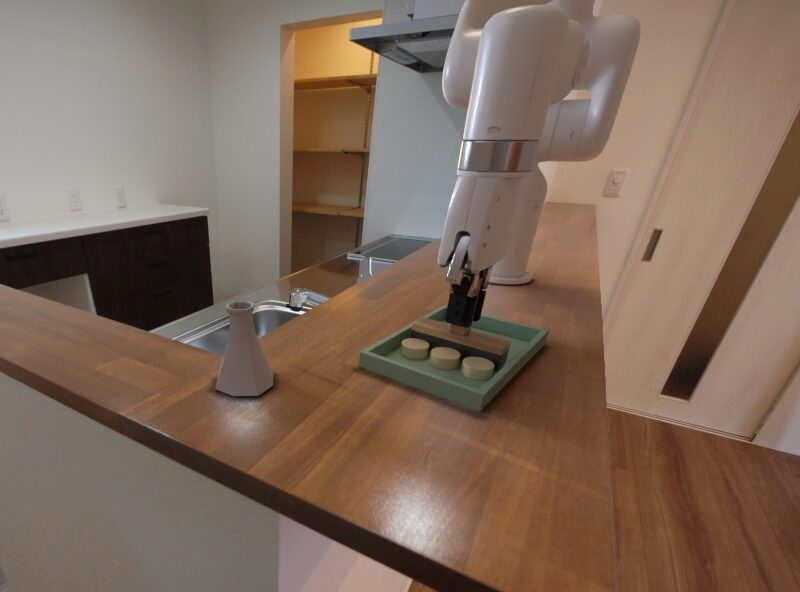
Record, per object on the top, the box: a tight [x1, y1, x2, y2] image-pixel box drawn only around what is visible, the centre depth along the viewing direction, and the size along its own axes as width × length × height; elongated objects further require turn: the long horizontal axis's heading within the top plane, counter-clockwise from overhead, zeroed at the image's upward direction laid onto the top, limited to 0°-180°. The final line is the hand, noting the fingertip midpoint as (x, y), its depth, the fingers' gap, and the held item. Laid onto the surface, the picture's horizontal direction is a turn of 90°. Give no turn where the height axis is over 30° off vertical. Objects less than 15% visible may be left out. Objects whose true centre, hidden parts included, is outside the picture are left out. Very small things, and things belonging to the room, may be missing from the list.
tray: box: [358, 304, 550, 412], centre depth 57 cm, size 24×16×3 cm, turn 137°
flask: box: [214, 300, 274, 397], centre depth 50 cm, size 7×7×10 cm
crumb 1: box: [400, 338, 429, 359], centre depth 57 cm, size 4×4×2 cm
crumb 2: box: [429, 347, 461, 369], centre depth 55 cm, size 4×4×2 cm
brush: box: [411, 275, 511, 370], centre depth 55 cm, size 3×12×10 cm, turn 47°
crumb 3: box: [461, 357, 494, 381], centre depth 52 cm, size 4×4×2 cm
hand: (462, 320), depth 55 cm, fingers closed on brush, 2 cm apart
